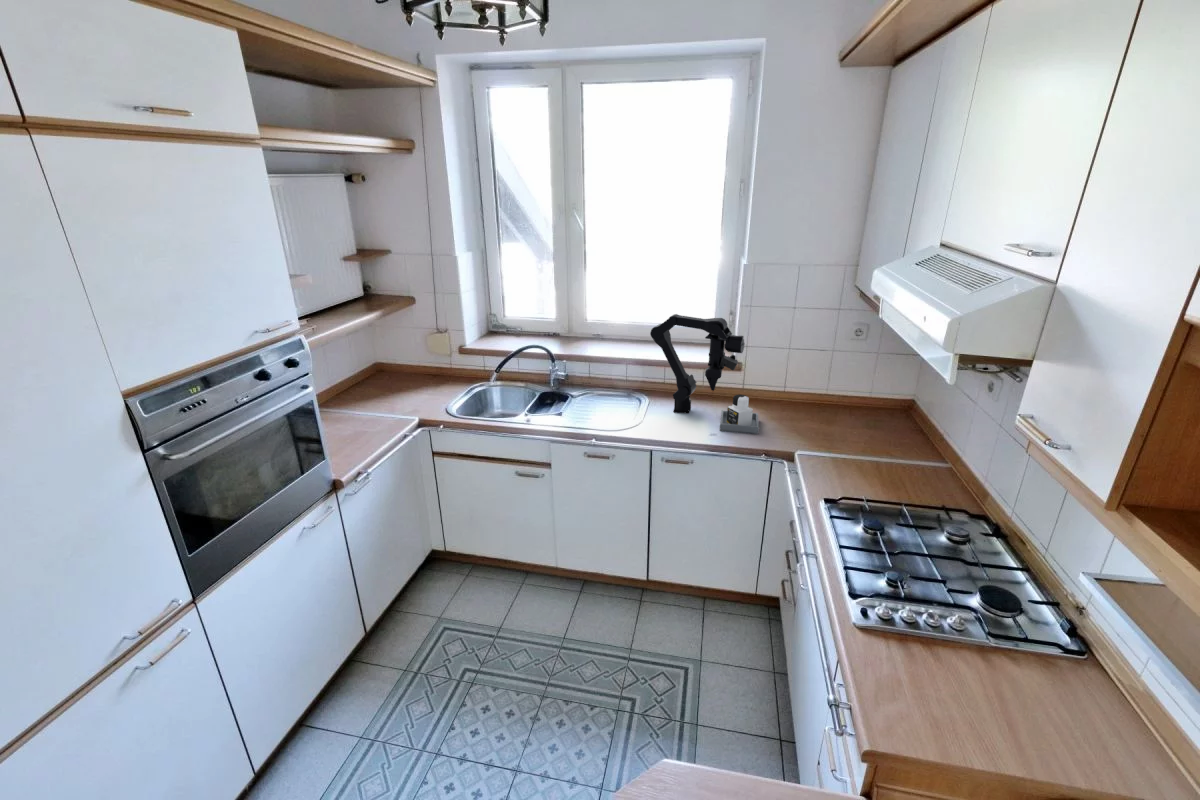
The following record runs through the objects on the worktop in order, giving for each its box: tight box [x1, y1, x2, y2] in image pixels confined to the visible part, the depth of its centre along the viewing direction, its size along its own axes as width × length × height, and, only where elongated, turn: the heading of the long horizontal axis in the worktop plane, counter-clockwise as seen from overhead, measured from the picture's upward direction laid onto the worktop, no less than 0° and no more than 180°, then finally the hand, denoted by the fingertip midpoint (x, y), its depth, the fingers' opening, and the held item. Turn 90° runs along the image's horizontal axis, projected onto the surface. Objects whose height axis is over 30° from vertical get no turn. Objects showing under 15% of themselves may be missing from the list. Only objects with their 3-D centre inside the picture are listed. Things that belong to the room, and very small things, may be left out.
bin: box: [719, 409, 760, 435], centre depth 225 cm, size 15×15×3 cm
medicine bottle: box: [726, 394, 754, 426], centre depth 223 cm, size 7×7×12 cm
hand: (714, 386), depth 231 cm, fingers open, 9 cm apart
